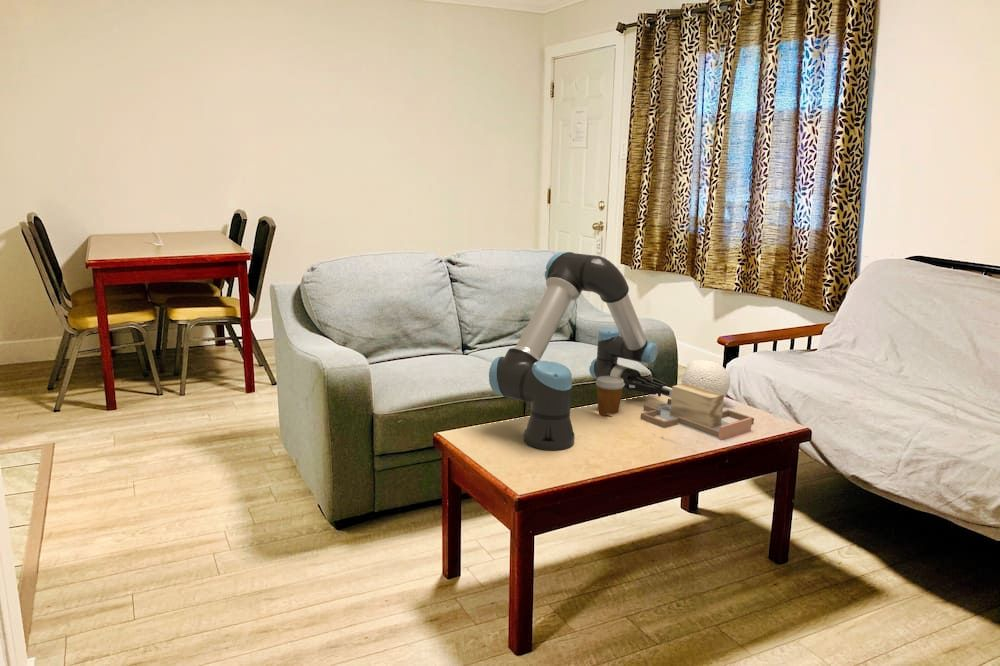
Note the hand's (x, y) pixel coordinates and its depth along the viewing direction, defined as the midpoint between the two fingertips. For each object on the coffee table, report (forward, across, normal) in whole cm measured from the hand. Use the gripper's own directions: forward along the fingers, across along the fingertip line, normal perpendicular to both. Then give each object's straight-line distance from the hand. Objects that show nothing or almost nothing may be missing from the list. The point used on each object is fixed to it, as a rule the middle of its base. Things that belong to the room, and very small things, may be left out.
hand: (678, 395), depth 252 cm
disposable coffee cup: (-14, +18, -8) cm, 24 cm away
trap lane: (+8, +1, -7) cm, 11 cm away
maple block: (+8, +1, -6) cm, 10 cm away
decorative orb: (-4, -18, -8) cm, 20 cm away
